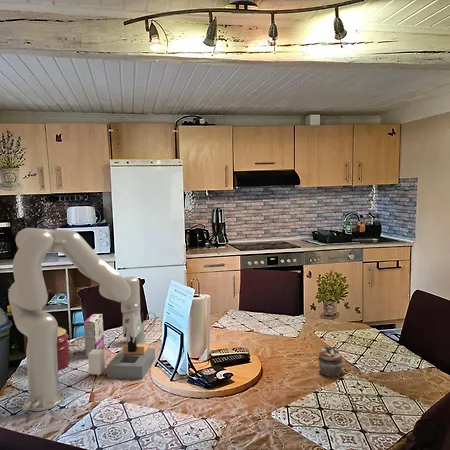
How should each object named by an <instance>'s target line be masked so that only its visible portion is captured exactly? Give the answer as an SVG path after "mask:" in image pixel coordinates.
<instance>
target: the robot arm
mask: <svg viewBox="0 0 450 450" xmlns="http://www.w3.org/2000/svg"><path fill="white" fill-rule="evenodd" d="M15 243H16V246H17V248H18V250H17V251H16V253H15V254H14V258H13V261H12V272H13V278H14V282H13V283H12V284H11V286H10V287H9V289H8V302H9V306H10V309H11V314H12V318H13V321H14V324H15V327H16V328H17V330H18V331H19V332H20V333H21V334H23V335H25V336H26V337H27V344H26V354H25V355H26V356H25V357H26V368H27V371H26V372H27V387H28V388H27V389H28V395H27V397H26V398H25V400H24V402H23V405H22V406H21V409H22V411H25V412H26V411H30V412H41V411H46V410H50V409H53V408H55V407H57V406H58V405H60V404H61V403H62V402H63V401H64V399H65V394H64V392H63V391H62V390H60V389H59V388H60V386H59V383H60V382H59V370H58V363H57V335H58V327H59V325H58V321H57V319H56V318H55V316H53V315H52V314H51V313H49V312H47V311H45V310H42V309H43V308H44V307H45V306H46V305H47V302H48V300H49V299H48V297H49V296H48V291H47V286H46V282H45V279H44V278H45V277H44V275H43V267H42V264H43V260H44V258H45V257H46V255H47V254H48V253H61V254H63V255H64V256H65V257H66V259H68V260H69V262H71V263H72V264H73V265H74V266H75V268H76V269H78V271H79V272H80V273H81V274H83V275H84V276H86V278H89V279H90V280H92V281H94V282H96V283H98V284H99V287H98V292H99V294H100V296H102V297H103V298H105V299H109V300H111V301H114V302H118V303H120V310H121V311H120V312H121V313H122V336H123V338H125V342H126V344H127V343H128V352H136V350H137V341H136V340H137V335H138V334H139V333H140V331H141V316H140V310H141V297H140V296H141V295H140V294H141V292H140V291H141V289H140V280H139V278H138V277H136V276H126V277H123V276H122V275H121V274H120V273H119V272H118V271H117V270H116V269H114V267H113V266H111V265H110V264H108V263H107V262H106V261H105V260H104V259H103V258H101V257H100V256H99V255H98V253H97V252H96V251H95V250H94V249H93V247H92V246H90V245H89V243H88V242H87V241H86V240H85V239H84V238H83V236H81V235H80V234H79V233H78V232H76V231H74V230H68V229H50V228H49V229H48V228H39V227H38V228H36V227H25V228H23V229H21V230H20V231H19V232H17V234H16V235H15Z"/></svg>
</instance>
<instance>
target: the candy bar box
mask: <svg viewBox="0 0 450 450" xmlns="http://www.w3.org/2000/svg"><path fill="white" fill-rule="evenodd" d="M83 326H84V327H83V329H84V330H83V333H84V344H85V345H84V347H85V358H87V359H88V354H89V353H90V352H91V351H92V350H93V349H99V350H105V338H104V336H105V334H104V319H103V313H93V314H91V315H90V316H89V317H88V318H87V319H86V320H85V321H83Z"/></svg>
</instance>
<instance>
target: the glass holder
mask: <svg viewBox="0 0 450 450" xmlns="http://www.w3.org/2000/svg"><path fill="white" fill-rule="evenodd" d="M150 314H153V315H154V321H153V325H151V327H150V328H149V329H148V330H147V331H146V332H145V323H147V322H148V317H149V315H150ZM140 316H141V331H140V333H139V334H138V335H137V340H136V341H137V344H138V345H145V344H146V341H147V340H146V339H145V338H146V335H147V334H148V333H149V332H150V331H151V330H152V329H153V328H154V325H155V324H156V319H157V316H156V313H155V312H151V311H150V312H148V313H147V315H146V320H145V319H144V310H142V309H140ZM126 345H128V343H127V342H126Z"/></svg>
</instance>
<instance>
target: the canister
mask: <svg viewBox="0 0 450 450" xmlns="http://www.w3.org/2000/svg"><path fill="white" fill-rule="evenodd" d="M69 338H70V337H69V334H68V333H67V330H66V329H65V328H63V327H60V326H58V335H57V363H58V371H60V370H61V371H62V370H63V369H65V368H67V367H68V366H69V365H70V362H71V358H70V343H69V341H68V339H69Z"/></svg>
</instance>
